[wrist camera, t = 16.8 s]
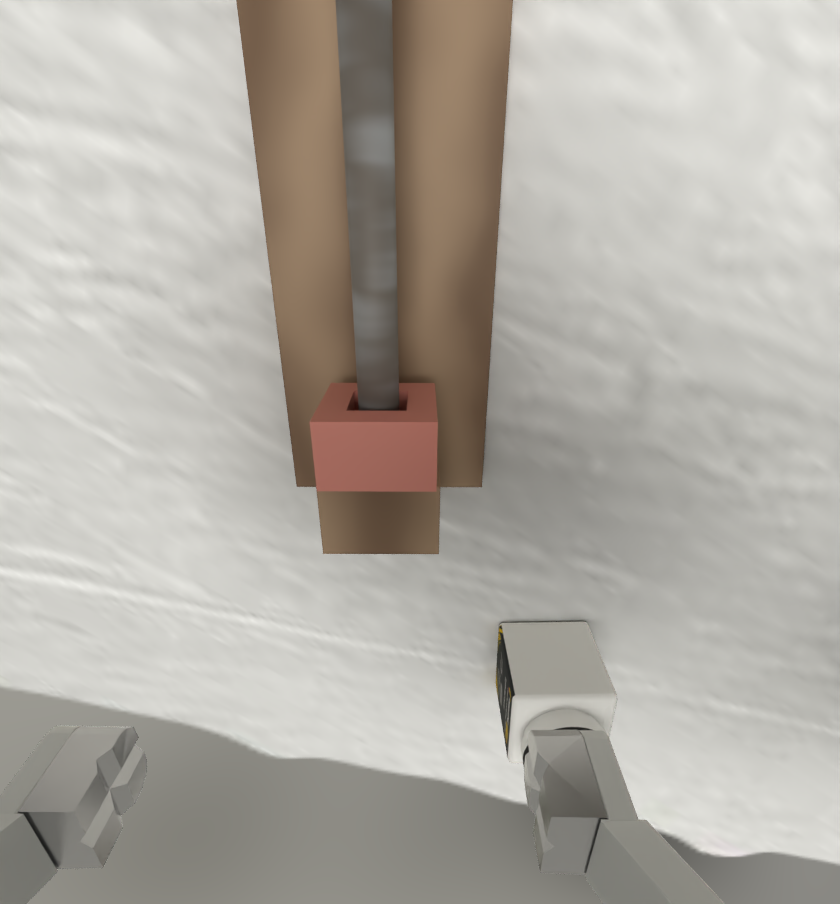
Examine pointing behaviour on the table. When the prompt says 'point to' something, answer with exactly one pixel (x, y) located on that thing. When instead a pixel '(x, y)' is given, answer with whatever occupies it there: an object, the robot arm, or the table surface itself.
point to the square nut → (376, 442)
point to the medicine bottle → (550, 682)
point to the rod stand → (381, 225)
